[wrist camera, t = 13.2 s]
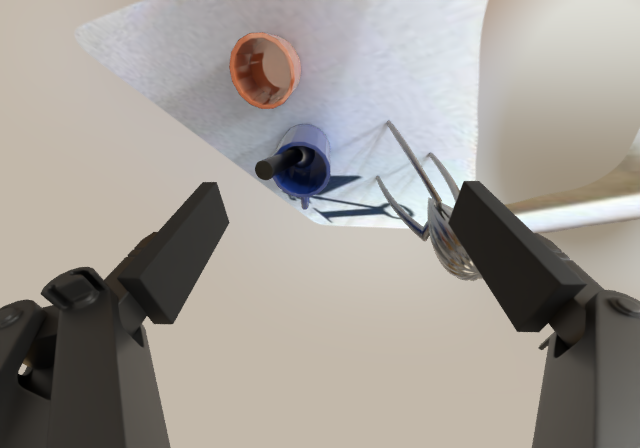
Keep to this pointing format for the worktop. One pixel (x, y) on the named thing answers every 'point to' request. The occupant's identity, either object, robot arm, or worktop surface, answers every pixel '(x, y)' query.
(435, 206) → the juicer
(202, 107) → the worktop surface
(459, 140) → the worktop surface
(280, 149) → the mug
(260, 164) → the long black cylinder
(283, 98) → the crock
